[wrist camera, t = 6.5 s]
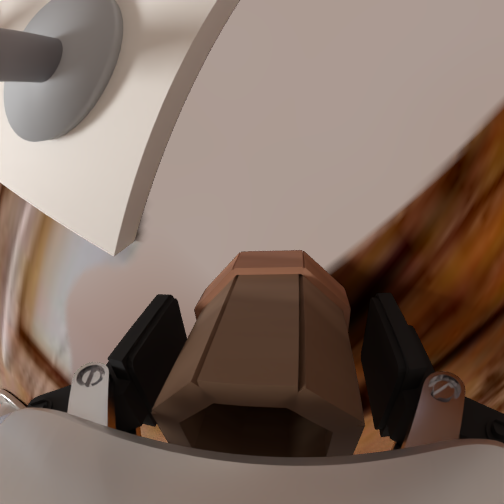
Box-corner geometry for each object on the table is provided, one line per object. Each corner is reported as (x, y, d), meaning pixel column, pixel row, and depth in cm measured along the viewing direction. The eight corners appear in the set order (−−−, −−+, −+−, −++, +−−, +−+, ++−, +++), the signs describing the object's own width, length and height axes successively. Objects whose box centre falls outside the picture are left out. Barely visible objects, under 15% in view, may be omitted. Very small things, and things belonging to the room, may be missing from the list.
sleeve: (337, 362, 12) (347, 480, 6) (218, 360, 13) (180, 470, 7) (347, 249, 10) (394, 370, 4) (198, 252, 11) (117, 360, 5)
